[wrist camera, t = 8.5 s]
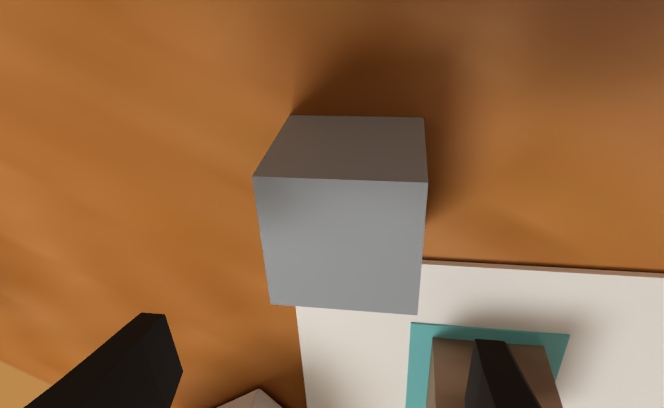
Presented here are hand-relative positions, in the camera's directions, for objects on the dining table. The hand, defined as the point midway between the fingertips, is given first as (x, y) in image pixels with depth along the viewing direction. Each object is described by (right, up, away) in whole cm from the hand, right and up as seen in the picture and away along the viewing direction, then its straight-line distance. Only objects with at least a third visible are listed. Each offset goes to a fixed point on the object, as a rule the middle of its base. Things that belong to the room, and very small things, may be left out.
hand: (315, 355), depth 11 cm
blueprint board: (+8, -5, +12) cm, 15 cm away
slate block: (+1, +5, +8) cm, 9 cm away
